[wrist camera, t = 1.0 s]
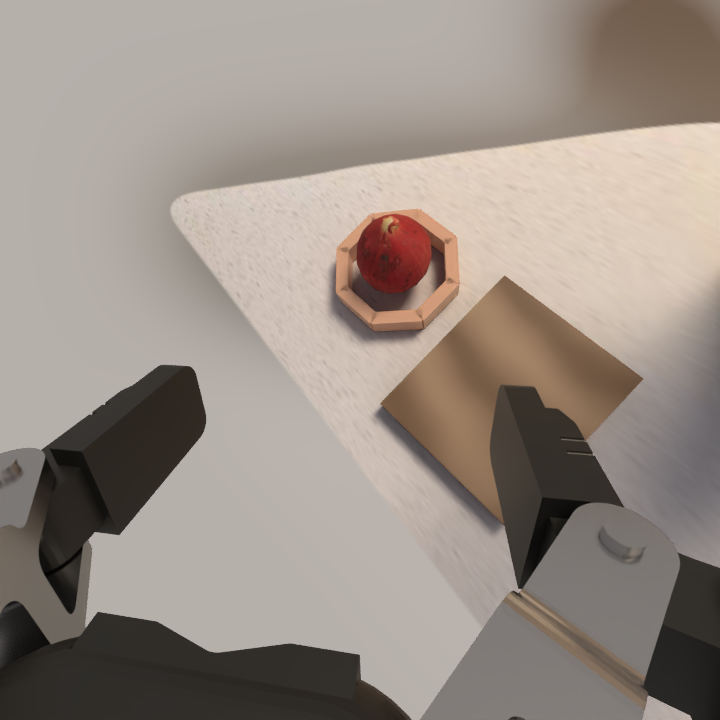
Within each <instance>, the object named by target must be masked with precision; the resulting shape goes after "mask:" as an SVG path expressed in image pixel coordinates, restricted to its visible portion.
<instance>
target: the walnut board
mask: <svg viewBox="0 0 720 720" xmlns="http://www.w3.org/2000/svg"><path fill="white" fill-rule="evenodd" d="M642 380H643V378H642V377H640V376H639V375H638V374H636V373H635V372H634V371H632V370H631V369H630V368H628V367H627V366H626V365H624V364H623V363H622V362H620V361H619V360H618V359H616V358H615V357H614V356H612V355H611V354H609V353H608V352H607V351H605V350H604V349H603V348H601V347H600V346H599V345H597V344H596V343H595V342H593V341H592V340H591V339H589V338H588V337H587V336H585V335H584V334H583V333H581V332H580V331H579V330H577V329H576V328H574V327H573V326H572V325H570V324H569V323H568V322H566V321H565V320H564V319H562V318H561V317H560V316H558V315H557V314H556V313H554V312H553V311H552V310H550V309H549V308H548V307H546V306H545V305H544V304H542V303H541V302H540V301H538V300H537V299H535V298H534V297H533V296H531V295H530V294H529V293H527V292H526V291H525V290H523V289H522V288H521V287H519V286H518V285H517V284H515V283H514V282H513V281H511V280H510V279H509V278H507V277H506V276H504V277H503V278H502V279H501V280H500V281H499V282H498V283H497V284H496V285H495V286H494V287H493V288H492V289H491V290H490V291H489V292H488V293H487V294H486V295H485V296H484V297H483V298H482V299H481V300H480V301H479V302H478V303H477V304H476V305H475V306H474V307H473V309H472V310H471V311H470V312H469V313H468V314H467V315H466V316H465V317H464V318H463V319H462V320H461V321H460V322H459V323H458V324H457V325H456V326H455V327H454V328H453V329H452V330H451V331H450V332H449V333H448V334H447V335H446V336H445V337H444V338H443V339H442V340H441V341H440V342H439V344H438V345H437V346H436V347H435V348H434V349H433V350H432V351H431V352H430V353H429V354H428V355H427V356H426V357H425V358H424V359H423V360H422V361H421V362H420V363H419V364H418V365H417V366H416V367H415V368H414V369H413V370H412V371H411V372H410V373H409V374H408V375H407V376H406V378H405V379H404V380H403V381H402V382H401V383H400V384H399V385H398V386H397V387H396V388H395V389H394V390H393V391H392V392H391V393H390V394H389V395H388V396H387V397H386V398H385V399H384V400H383V401H382V402H381V403H380V404H381V405H382V406H383V407H384V408H385V409H386V410H387V411H388V412H389V413H390V414H391V415H392V416H393V417H394V418H395V419H396V420H397V421H398V422H399V423H400V424H401V425H402V426H403V427H404V428H405V429H406V430H408V431H409V432H410V433H411V434H412V435H413V436H414V437H415V438H416V439H417V440H418V441H419V442H420V443H421V444H422V445H423V446H424V447H425V448H426V449H427V450H428V451H429V452H430V453H431V454H432V455H433V456H434V457H435V458H436V459H437V460H438V461H439V462H440V463H441V464H442V465H443V466H444V467H445V468H446V469H447V470H448V471H449V472H450V473H451V474H452V475H453V476H454V477H455V478H456V479H457V480H458V481H459V482H460V483H461V484H463V485H464V486H465V487H466V488H467V489H468V490H469V491H470V492H471V493H472V494H473V495H474V496H475V497H476V498H477V499H478V500H479V501H480V502H481V503H482V504H483V505H484V506H485V507H486V508H487V509H488V510H489V511H490V512H491V513H492V514H493V515H494V516H495V517H496V518H497V519H498V520H499V521H500V522H501V523H502V524H503V525H504V520H503V516H502V511H501V507H500V502H499V497H498V493H497V488H496V483H495V479H494V474H493V470H492V465H491V459H490V437H491V431H492V425H493V419H494V412H495V406H496V400H497V394H498V390H499V387H500V385H502V384H503V385H520V386H534V387H535V388H536V390H537V392H538V394H539V396H540V398H541V400H542V402H543V404H544V406H545V408H557V409H559V410H560V411H562V412H563V413H564V414H565V415H567V416H568V417H569V418H570V419H572V420H573V421H574V422H575V423H576V425H577V426H578V428H579V430H580V431H581V433H582V435H583V437H584V438H585V440H584V441H586V440H587V439H588V437H589V436H590V435H591V434H592V433H593V432H594V431H595V430H596V429H597V428H598V427H599V426H600V425H601V424H602V422H603V421H604V420H605V419H606V418H607V417H608V416H609V415H610V414H611V413H612V412H613V411H614V410H615V409H616V407H617V406H618V405H619V404H620V403H621V402H622V401H623V400H624V399H625V398H626V397H627V396H628V395H629V394H630V393H631V391H632V390H633V389H634V388H635V387H636V386H637V385H638V384H639V383H640V382H641V381H642ZM504 526H505V525H504Z"/></svg>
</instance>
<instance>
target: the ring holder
mask: <svg viewBox="0 0 720 720" xmlns="http://www.w3.org/2000/svg"><path fill="white" fill-rule="evenodd" d="M390 214H400V215H405V216H408V217H410V218H412V219H413V220H415V221H417V222H418V223H420V224H421V225H422V226H423V228H424V229H425V231H426V233H427V234H428V236H429V237H430V241H431V245H432V246H433V247H435V248H436V249H437V250H439V251H440V252H441V253H442V254H444V269H445V282H444V283H443V284H442V285H441V286H440V287H439V288H438V289H437V290H436V291H435V292H434V293H433V294H432V295H431V296H430V297H429V298H428V299H427V300H426V301H425V302H424V303H423V304H422V305H421V306H420V307H419V308H418V309H417V310H400V311H384V312H375V311H374V310H373V309H372V308H371V307H370V306H368V305H367V304H366V303H365V302H364V301H363V300H362V299H361V298H359V297H358V296H357V295H356V294H355V293H354V292H353V291H352V289H353V261H354V260H355V259H356V255H357V244H358V241H359V238H360V236H361V234H362V231H363V230H364V229H365V228H366V227H367V226H368V225H369V224H370V223H371V222H372V221H373V220H375V219H377V218H379V217H382V216H384V215H390ZM459 284H460V280H459V264H458V247H457V237H456V236H455V235H454V234H453V233H451V232H450V231H449V230H447V229H446V228H445V227H443V226H442V225H441V224H439V223H438V222H437V221H435V220H434V219H432V218H431V217H430V216H428V215H427V214H426V213H424V212H423V211H422V210H420V209H419V210H418V209H411V210H402V211H392V212H383V213H374V214H371V215H369V216H368V217H367V218H366V219H365V220H364V221H363V222H362V223H361V224H360V225H359V226H358V227H357V228H356V229H355V230H354V231H353V232H352V233H351V234H350V235H349V236H348V237H347V238H346V239H345V240H344V241H343V242H342V243H341V244H340V245H339V246H338V248H337V260H336V293H337V295H338V297H339V298H340V300H341V302H342V303H343V304H344V305H345V306H347V307H348V308H349V309H350V310H351V311H352V312H353V313H354V314H355V315H356V316H358V317H359V318H360V319H361V320H362V321H363V322H364V323H365V324H366V325H367V326H369V327H370V328H371V329H372V330H373V331H374V330H375V332H378V331H398V330H418V329H423V328H425V327H426V326H427V325H428V324H429V323H430V322H431V321H432V320H433V319H434V318H435V317H436V316H437V315H438V314H439V313H440V312H441V311H442V310H443V309H444V308H445V307H446V306H447V305H448V304H449V303H450V302H451V301H452V300H453V299H454V298H455V297H456V296H457V295H458V290H459Z"/></svg>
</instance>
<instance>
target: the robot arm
mask: <svg viewBox="0 0 720 720" xmlns="http://www.w3.org/2000/svg"><path fill="white" fill-rule="evenodd" d="M205 424H206V414H205V409H204V405H203V402H202V397H201V393H200V389H199V385H198V381H197V377H196V373H195V371H194V370H193V369H192V368H191V367H189V366H176V365H160V366H158V367H157V368H155V369H154V370H153V371H151V372H150V373H149V374H147V375H146V376H145V377H144V378H142V379H141V380H139V381H138V382H137V383H135V384H134V385H133V386H130V387H128V388H126V389H124V390H122V391H120V392H119V393H118V394H116V395H115V396H114V397H112V398H111V399H110V400H108V401H107V402H106V404H105V405H101V406H100V407H99V408H97V409H96V410H95V411H93V414H92V415H88V416H87V417H85V418H84V419H83V420H81V421H80V422H78V423H77V424H76V425H75V426H73V427H72V428H70V429H69V430H68V431H67V432H65V433H64V434H62V435H61V436H60V437H58V438H57V439H56V440H54V441H53V442H52V443H50V444H49V445H47V446H46V447H45V448H43V449H42V450H39V449H35V448H22V449H16V450H12V451H8V452H4V453H1V454H0V720H411V719H410V717H409V716H408V715H407V714H406V713H405V712H404V711H403V710H402V709H401V708H400V707H399V706H398V705H397V704H396V703H395V702H393V701H392V700H391V699H390V698H388V697H387V696H386V695H384V694H383V693H382V692H380V691H379V690H378V689H376V688H375V687H373V686H371V685H370V684H368V683H366V682H364V681H362V680H361V675H360V655H357V654H351V653H344V652H339V651H333V650H327V649H320V648H314V647H308V646H302V645H296V644H283V645H276V646H268V647H260V648H252V649H244V650H237V651H230V652H222V653H214V652H209V651H207V650H205V649H203V648H202V647H200V646H198V645H196V644H195V643H193V642H191V641H189V640H188V639H186V638H184V637H183V636H181V635H179V634H177V633H176V632H174V631H172V630H170V629H169V628H167V627H165V626H163V625H162V624H160V623H158V622H156V621H150V620H144V619H137V618H131V617H125V616H119V615H113V614H107V613H100V612H97V614H96V615H95V616H94V618H93V619H92V621H91V622H90V623H89V625H88V626H87V627H86V629H85V619H86V609H87V599H88V588H89V578H90V567H91V558H92V548H91V545H90V543H89V541H88V539H89V538H90V537H91V536H92V534H93V533H94V532H100V533H108V534H115V535H120V534H121V532H122V531H123V530H124V529H125V527H126V526H127V525H128V524H129V523H130V521H131V520H132V519H133V518H134V517H135V515H136V514H137V513H138V512H139V511H140V509H141V508H142V507H143V506H144V505H145V503H146V502H147V501H148V500H149V499H150V497H151V496H152V495H153V494H154V493H155V491H156V490H157V489H158V488H159V487H160V485H161V484H162V483H163V482H164V480H165V479H166V478H167V477H168V476H169V474H170V473H171V472H172V471H173V470H174V468H175V467H176V466H177V465H178V464H179V462H180V461H181V460H182V459H183V458H184V456H185V455H186V454H187V453H188V452H189V450H190V449H191V448H192V447H193V445H194V444H195V443H196V442H197V441H198V439H199V438H200V437H201V435H202V434H203V432H204V429H205ZM584 440H585V438H584V437H583V435H582V433H581V431H580V430H579V428H578V426H577V425H576V423H575V422H574V421H573V420H572V419H570V418H569V417H568V416H567V415H565V414H564V413H563V412H562V411H560V410H559V409H557V408H545V406H544V404H543V402H542V400H541V398H540V396H539V394H538V392H537V390H536V388H535V387H534V386H520V385H503V384H502V385H500V387H499V390H498V394H497V400H496V406H495V412H494V419H493V425H492V431H491V437H490V459H491V465H492V470H493V474H494V479H495V483H496V488H497V493H498V497H499V502H500V507H501V511H502V516H503V520H504V525H505V530H506V534H507V539H508V543H509V548H510V553H511V557H512V562H513V567H514V571H515V576H516V580H517V585H518V589H522V590H521V591H520V592H519V593H517V592H515V591H511V592H510V593H509V594H508V595H507V596H506V597H505V598H504V600H503V601H502V602H501V604H500V605H499V606H498V608H497V609H496V611H495V612H494V614H493V615H492V616H491V618H490V619H489V621H488V622H487V624H486V625H485V627H484V628H483V630H482V631H481V632H480V634H479V635H478V637H477V638H476V640H475V641H474V643H473V644H472V645H471V647H470V648H469V650H468V651H467V653H466V654H465V656H464V657H463V658H462V660H461V661H460V663H459V664H458V666H457V667H456V669H455V670H454V672H453V673H452V675H451V676H450V677H449V679H448V680H447V682H446V683H445V685H444V686H443V688H442V689H441V690H440V692H439V693H438V695H437V696H436V698H435V699H434V701H433V702H432V703H431V705H430V706H429V708H428V709H427V711H426V712H425V714H424V715H423V716H422V718H421V719H420V720H642V717H643V713H644V710H645V706H646V701H647V695H649V696H651V697H653V698H655V699H657V700H659V701H661V702H664V703H666V704H668V705H670V706H672V707H674V708H676V709H678V710H680V711H682V712H684V713H686V714H688V715H690V716H691V718H692V720H720V568H718V567H715V566H712V565H710V564H707V563H704V562H701V561H698V560H695V559H692V558H690V557H687V556H684V555H682V554H680V553H678V552H677V550H676V548H675V547H674V545H673V543H672V542H671V541H670V539H669V538H668V537H667V536H666V535H665V534H664V533H663V532H662V531H661V530H660V529H659V528H658V527H657V526H655V525H654V524H653V523H652V522H650V521H649V520H647V519H646V518H644V517H642V516H641V515H639V514H637V513H635V512H633V511H631V510H628V509H626V508H624V506H623V504H622V503H621V501H620V499H619V497H618V496H617V494H616V492H615V490H614V489H613V487H612V485H611V483H610V482H609V480H608V478H607V477H606V475H605V473H604V471H603V470H602V468H601V466H600V464H599V463H598V461H597V459H596V457H595V456H593V455H592V453H593V452H592V451H591V449H590V447H589V445H588V444H587V442H585V441H584Z"/></svg>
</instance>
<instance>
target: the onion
mask: <svg viewBox="0 0 720 720" xmlns="http://www.w3.org/2000/svg"><path fill="white" fill-rule="evenodd" d="M431 257H432V253H431V241H430V237H429V236H428V234H427V233H426V231H425V229H424V228H423V226H422V225H421V224H420V223H418V222H417V221H415V220H413V219H412V218H410V217H408V216H405V215H400V214H390V215H384V216H382V217H379V218H377V219H375V220H373V221H372V222H371V223H370V224H369V225H368V226H367V227H366V228H365V229H364V230H363V231H362V234H361V236H360V238H359V241H358V244H357V255H356V260H357V265H358V267H359V270H360V272H361V274H362V276H363V278H364V279H365V280H366V281H367V282H368V283H369V284H370V285H371V286H372V287H373V288H374V289H376V290H379V291H382V292H385V293H389V294H391V293H399V292H405V291H407V290H408V289H410V288H412V287H413V286H415V285H417V284H418V282H419V281H420V280H421V279H422V278H423V277H424V275H425V274H426V272H427V270H428V267H429V264H430V261H431Z"/></svg>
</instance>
